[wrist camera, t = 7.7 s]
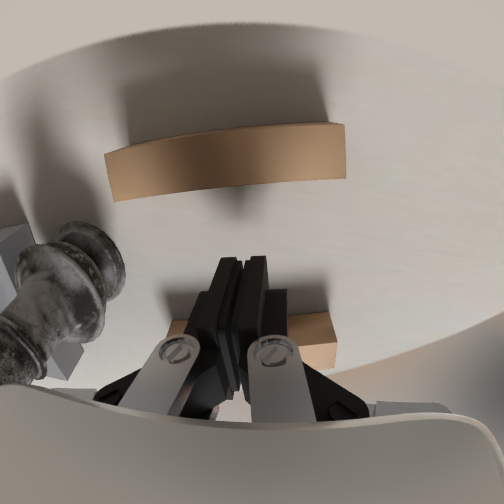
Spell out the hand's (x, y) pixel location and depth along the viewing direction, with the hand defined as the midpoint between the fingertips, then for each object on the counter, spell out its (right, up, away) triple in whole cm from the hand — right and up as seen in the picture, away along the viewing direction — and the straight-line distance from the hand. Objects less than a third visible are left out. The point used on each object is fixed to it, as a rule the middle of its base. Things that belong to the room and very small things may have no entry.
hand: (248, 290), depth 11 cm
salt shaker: (-9, +1, +4) cm, 10 cm away
